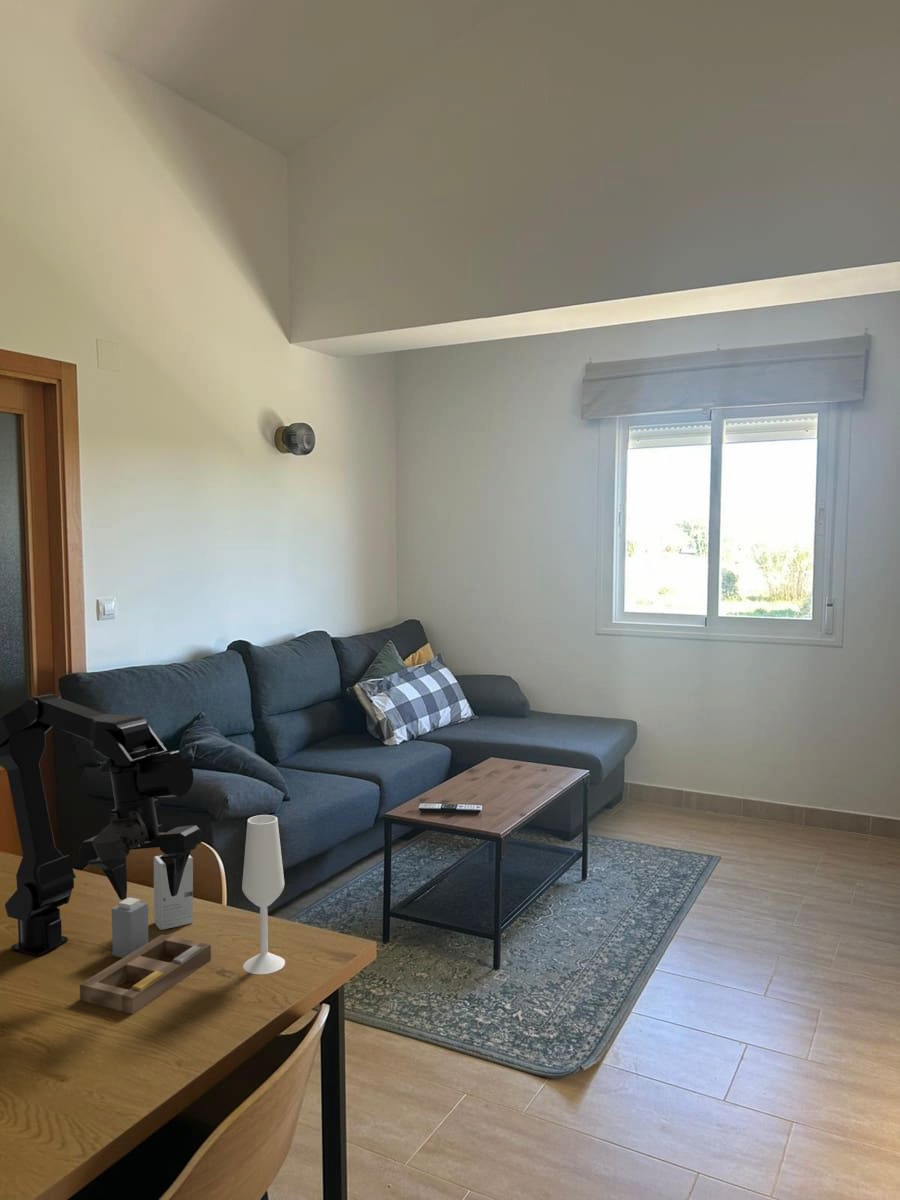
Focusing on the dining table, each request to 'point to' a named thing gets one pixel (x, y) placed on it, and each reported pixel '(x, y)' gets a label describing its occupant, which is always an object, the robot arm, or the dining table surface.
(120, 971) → the brown wooden flat frame
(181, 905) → the skincare box
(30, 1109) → the dining table surface
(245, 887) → the champagne flute
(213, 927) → the dining table surface
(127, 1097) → the dining table surface
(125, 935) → the plug
